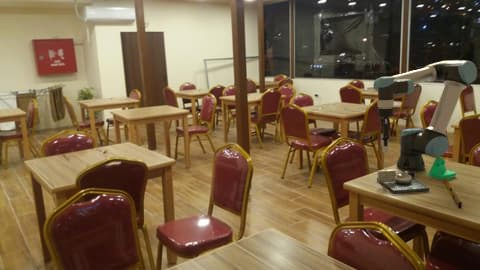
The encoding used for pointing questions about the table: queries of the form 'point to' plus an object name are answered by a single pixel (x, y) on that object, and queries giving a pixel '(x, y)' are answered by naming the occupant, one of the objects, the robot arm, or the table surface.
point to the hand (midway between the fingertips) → (384, 148)
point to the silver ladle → (393, 177)
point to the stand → (405, 186)
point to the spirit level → (452, 193)
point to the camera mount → (440, 170)
